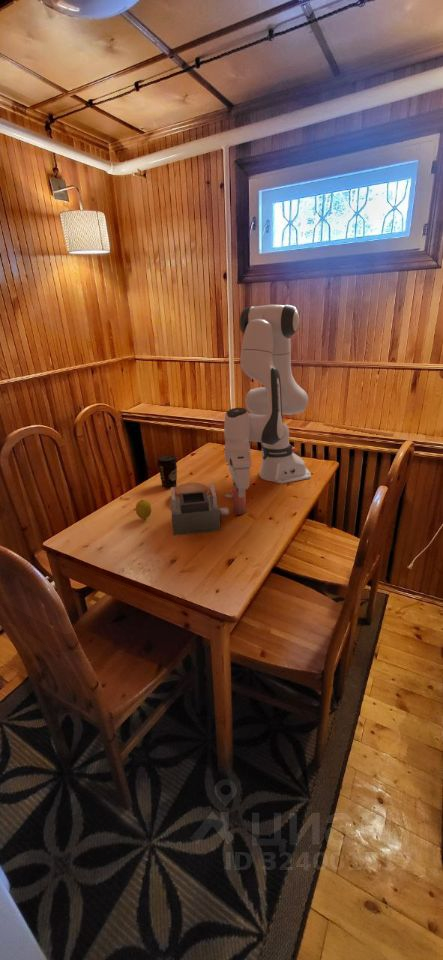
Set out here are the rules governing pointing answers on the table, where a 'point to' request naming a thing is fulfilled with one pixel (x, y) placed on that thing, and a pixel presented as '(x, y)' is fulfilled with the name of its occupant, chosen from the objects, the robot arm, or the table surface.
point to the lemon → (143, 509)
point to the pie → (190, 488)
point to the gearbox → (195, 512)
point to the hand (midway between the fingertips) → (238, 491)
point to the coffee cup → (168, 471)
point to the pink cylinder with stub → (238, 502)
